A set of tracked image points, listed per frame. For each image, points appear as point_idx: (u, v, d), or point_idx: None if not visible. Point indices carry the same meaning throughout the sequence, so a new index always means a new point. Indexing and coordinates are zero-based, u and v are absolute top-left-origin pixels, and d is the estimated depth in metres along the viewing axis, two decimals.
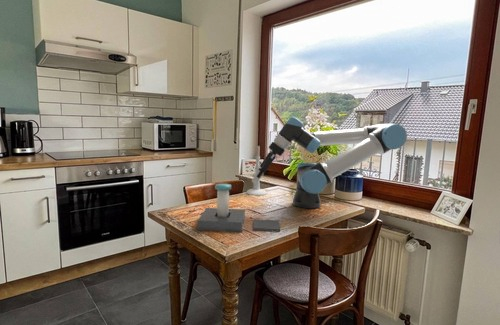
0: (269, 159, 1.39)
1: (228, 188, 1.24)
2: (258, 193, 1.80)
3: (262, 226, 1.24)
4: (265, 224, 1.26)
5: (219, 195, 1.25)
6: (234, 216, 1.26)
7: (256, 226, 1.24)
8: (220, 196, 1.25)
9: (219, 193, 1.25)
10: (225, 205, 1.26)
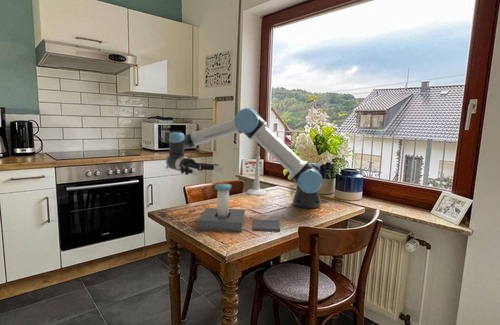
0: (180, 169, 1.38)
1: (228, 188, 1.24)
2: (258, 193, 1.80)
3: (262, 226, 1.24)
4: (265, 224, 1.26)
5: (219, 195, 1.25)
6: (234, 216, 1.26)
7: (256, 226, 1.24)
8: (220, 196, 1.25)
9: (219, 193, 1.25)
10: (225, 205, 1.26)
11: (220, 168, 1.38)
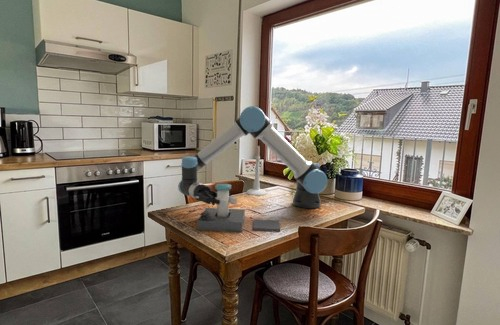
0: (200, 198, 1.30)
1: (228, 188, 1.24)
2: (258, 193, 1.80)
3: (262, 226, 1.24)
4: (265, 224, 1.26)
5: (219, 195, 1.25)
6: (234, 216, 1.26)
7: (256, 226, 1.24)
8: (220, 196, 1.25)
9: (219, 193, 1.25)
10: None
11: (233, 199, 1.26)
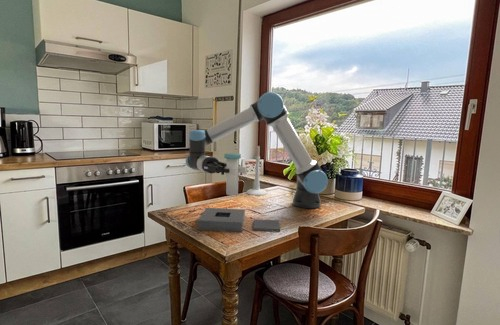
0: (209, 169, 1.27)
1: (238, 157, 1.22)
2: (258, 193, 1.80)
3: (262, 226, 1.24)
4: (265, 224, 1.26)
5: (228, 164, 1.23)
6: (234, 216, 1.26)
7: (256, 226, 1.24)
8: (229, 165, 1.23)
9: (228, 162, 1.23)
10: None
11: (243, 169, 1.24)
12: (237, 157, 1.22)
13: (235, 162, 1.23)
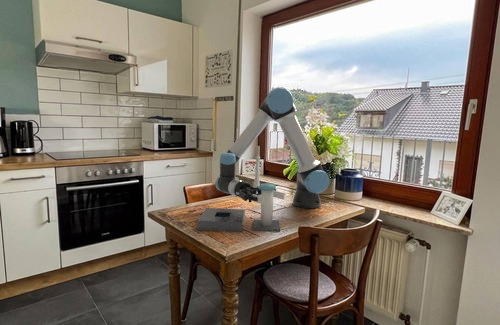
0: (239, 195, 1.28)
1: (273, 188, 1.22)
2: None
3: (262, 226, 1.24)
4: None
5: (264, 195, 1.23)
6: (234, 216, 1.26)
7: (256, 226, 1.24)
8: (265, 196, 1.23)
9: (264, 193, 1.23)
10: (270, 205, 1.24)
11: (281, 194, 1.27)
12: (273, 188, 1.22)
13: (270, 193, 1.23)
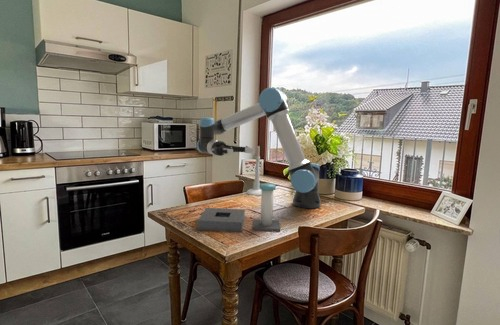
0: (214, 150, 1.45)
1: (273, 188, 1.22)
2: (258, 193, 1.80)
3: (262, 226, 1.24)
4: None
5: (264, 195, 1.23)
6: (234, 216, 1.26)
7: (256, 226, 1.24)
8: (265, 196, 1.23)
9: (264, 193, 1.23)
10: (270, 205, 1.24)
11: (252, 149, 1.45)
12: (273, 188, 1.22)
13: (270, 193, 1.23)
